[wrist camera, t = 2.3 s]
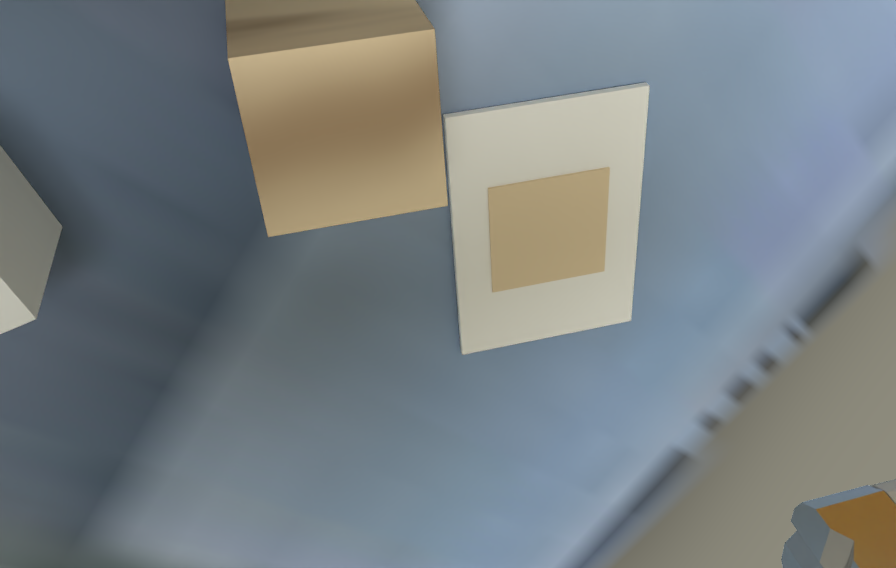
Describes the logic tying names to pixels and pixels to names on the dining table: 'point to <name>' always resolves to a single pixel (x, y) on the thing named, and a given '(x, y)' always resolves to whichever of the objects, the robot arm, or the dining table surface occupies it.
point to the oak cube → (338, 109)
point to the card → (545, 214)
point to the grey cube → (23, 246)
